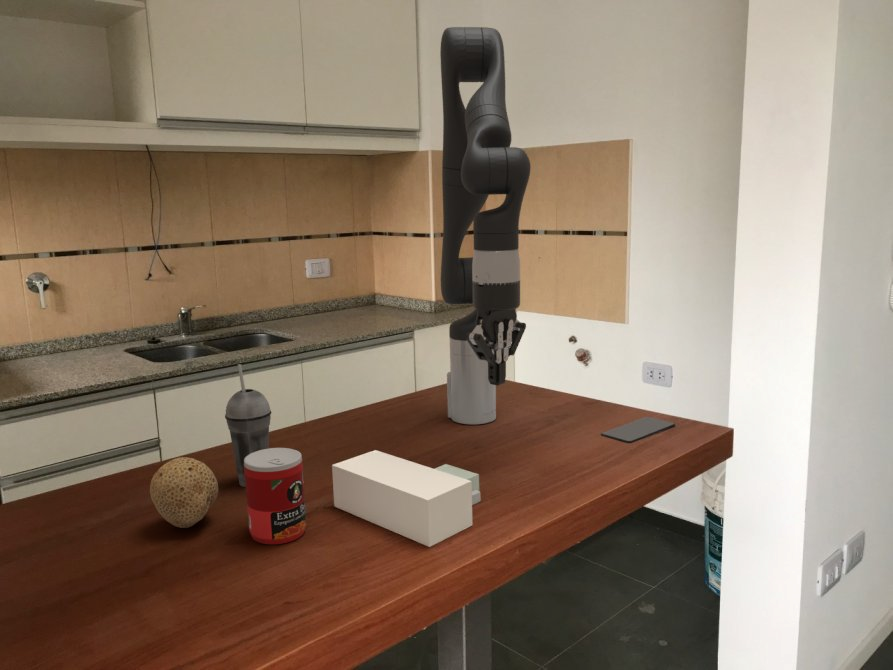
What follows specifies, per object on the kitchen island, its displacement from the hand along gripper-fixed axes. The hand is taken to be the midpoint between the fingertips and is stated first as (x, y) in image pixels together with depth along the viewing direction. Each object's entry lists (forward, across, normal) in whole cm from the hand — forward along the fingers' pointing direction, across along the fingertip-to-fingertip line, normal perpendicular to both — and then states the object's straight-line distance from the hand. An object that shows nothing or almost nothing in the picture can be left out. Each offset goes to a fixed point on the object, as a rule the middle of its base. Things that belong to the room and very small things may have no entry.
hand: (497, 383), depth 118 cm
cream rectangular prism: (+15, +18, 0) cm, 23 cm away
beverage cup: (+15, +29, -27) cm, 43 cm away
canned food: (+15, +37, -8) cm, 41 cm away
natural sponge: (+15, +44, -20) cm, 51 cm away
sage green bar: (+15, +17, 0) cm, 22 cm away
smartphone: (+16, -34, +7) cm, 38 cm away
